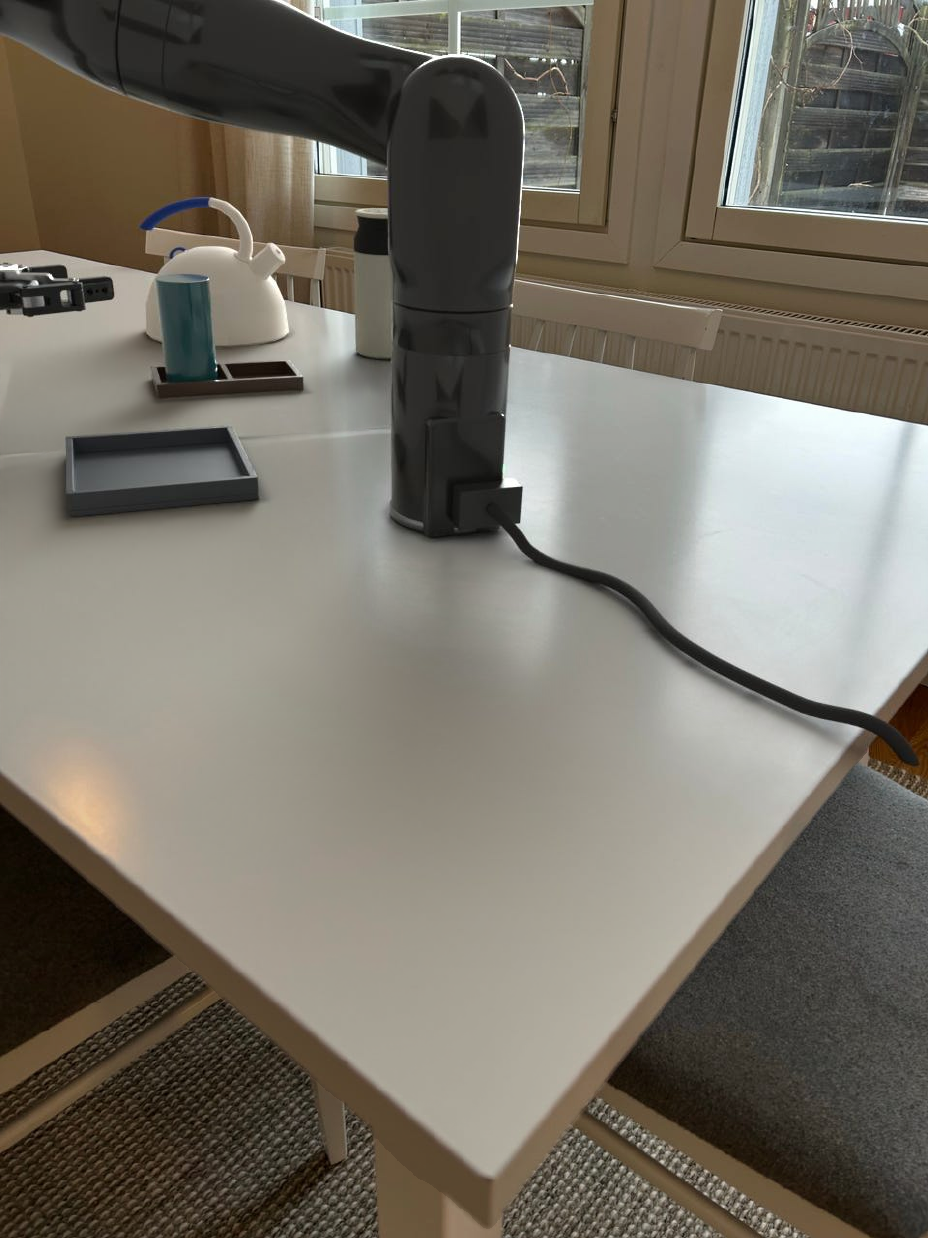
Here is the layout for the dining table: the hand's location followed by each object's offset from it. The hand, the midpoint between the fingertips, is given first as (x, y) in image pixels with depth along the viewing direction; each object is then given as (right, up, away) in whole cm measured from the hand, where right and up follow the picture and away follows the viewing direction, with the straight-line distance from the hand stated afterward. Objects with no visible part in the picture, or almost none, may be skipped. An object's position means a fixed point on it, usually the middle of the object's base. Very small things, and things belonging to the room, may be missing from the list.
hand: (88, 281), depth 97 cm
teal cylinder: (+7, -7, +14) cm, 17 cm away
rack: (+10, -7, +15) cm, 20 cm away
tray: (+11, -22, -12) cm, 27 cm away
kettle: (+3, +7, +41) cm, 41 cm away
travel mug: (+28, +2, +33) cm, 43 cm away
